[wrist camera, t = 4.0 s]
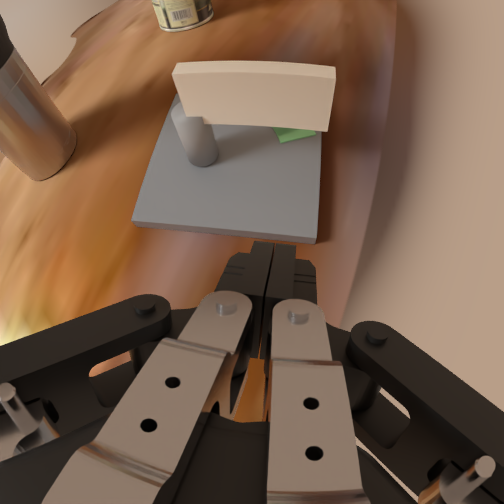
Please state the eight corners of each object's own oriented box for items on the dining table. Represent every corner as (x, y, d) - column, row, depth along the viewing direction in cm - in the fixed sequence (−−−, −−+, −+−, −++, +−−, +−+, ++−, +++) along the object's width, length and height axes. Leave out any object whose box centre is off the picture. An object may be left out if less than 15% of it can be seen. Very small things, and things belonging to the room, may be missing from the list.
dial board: (136, 226, 32) (130, 219, 30) (179, 101, 38) (175, 92, 36) (314, 244, 30) (316, 237, 28) (320, 106, 36) (322, 97, 34)
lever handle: (185, 166, 32) (149, 82, 21) (192, 142, 33) (162, 58, 22) (320, 176, 30) (336, 86, 19) (321, 150, 31) (334, 60, 20)
